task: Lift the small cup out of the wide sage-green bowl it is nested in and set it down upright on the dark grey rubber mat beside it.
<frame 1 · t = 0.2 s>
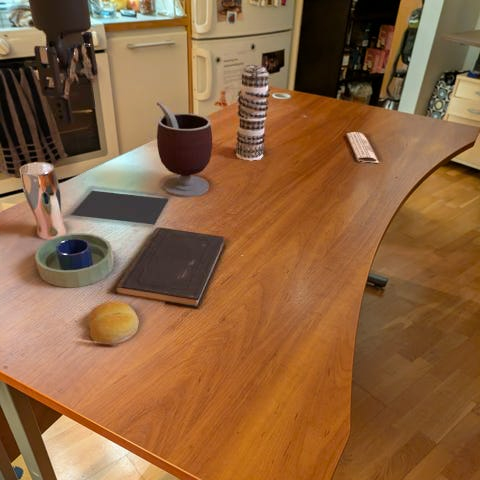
hand: (77, 116, 71), 30 cm above the table, tool pointing down, fingers open, 8 cm apart
mate gourd: (183, 187, 124), on the table
bread roll: (113, 329, 79), on the table
small cup: (77, 266, 92), resting on big bowl
big bowl: (77, 268, 92), on the table
patterned cylindrical tower: (249, 156, 144), on the table
hardcover book: (174, 269, 94), on the table
beer glass: (52, 235, 102), on the table
newspaper: (361, 149, 154), on the table
mat: (119, 210, 112), on the table
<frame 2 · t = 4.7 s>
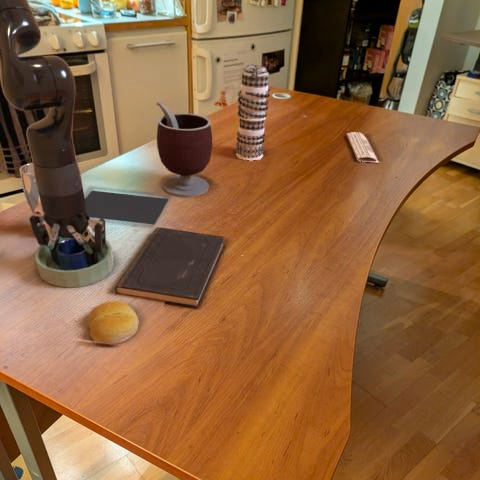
hand: (76, 264, 92), 1 cm above the table, tool pointing down, fingers closed on small cup, 6 cm apart
small cup: (76, 266, 92), point 1 cm above the table, touching big bowl, gripper
everything else where it was.
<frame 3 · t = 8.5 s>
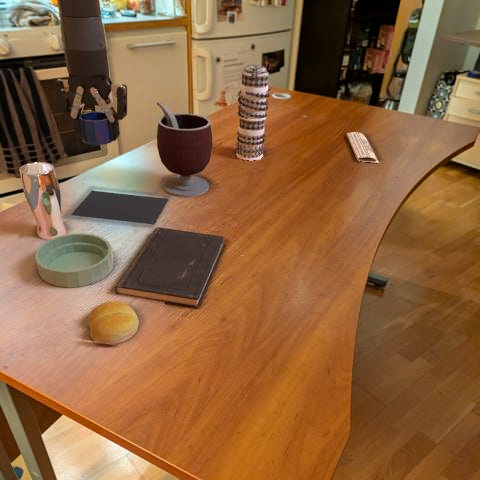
hand: (98, 137, 94), 20 cm above the table, tool pointing down, fingers closed on small cup, 6 cm apart
small cup: (98, 139, 94), point 19 cm above the table, touching gripper
everything else where it was.
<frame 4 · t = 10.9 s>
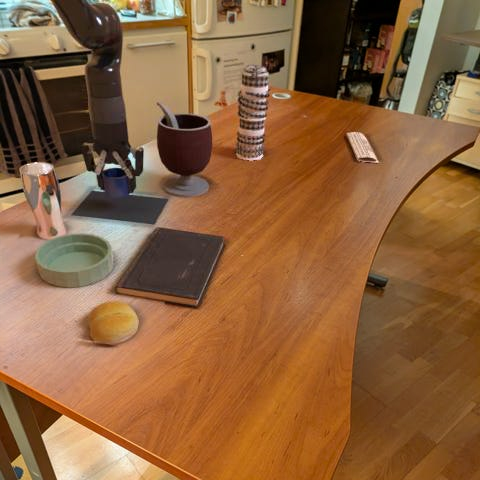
hand: (117, 190, 109), 5 cm above the table, tool pointing down, fingers closed on small cup, 6 cm apart
small cup: (117, 191, 109), point 5 cm above the table, touching gripper
everything else where it was.
when the fingers open (1 cm above the table, at t = 12.6 s): small cup stays where it is, resting on mat.
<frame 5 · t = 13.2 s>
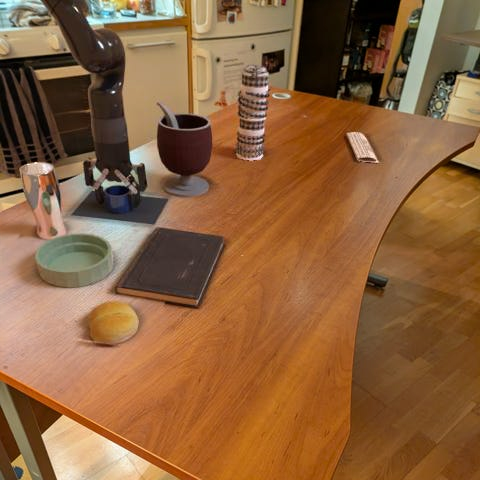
hand: (119, 204, 111), 1 cm above the table, tool pointing down, fingers open, 8 cm apart
small cup: (119, 208, 112), resting on mat
everything else where it was.
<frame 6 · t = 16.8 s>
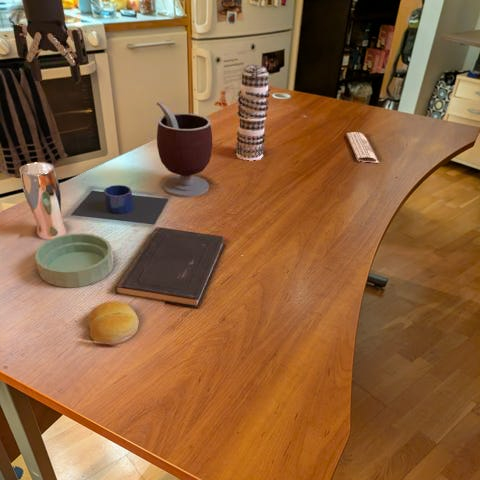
hand: (57, 82, 101), 26 cm above the table, tool pointing down, fingers open, 8 cm apart
nothing on the table moved.
at the end: small cup inside the target area on the mat (0.1 cm from its centre), point 0.4 cm above the mat's base; small cup tilted 0°; small cup touching mat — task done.
